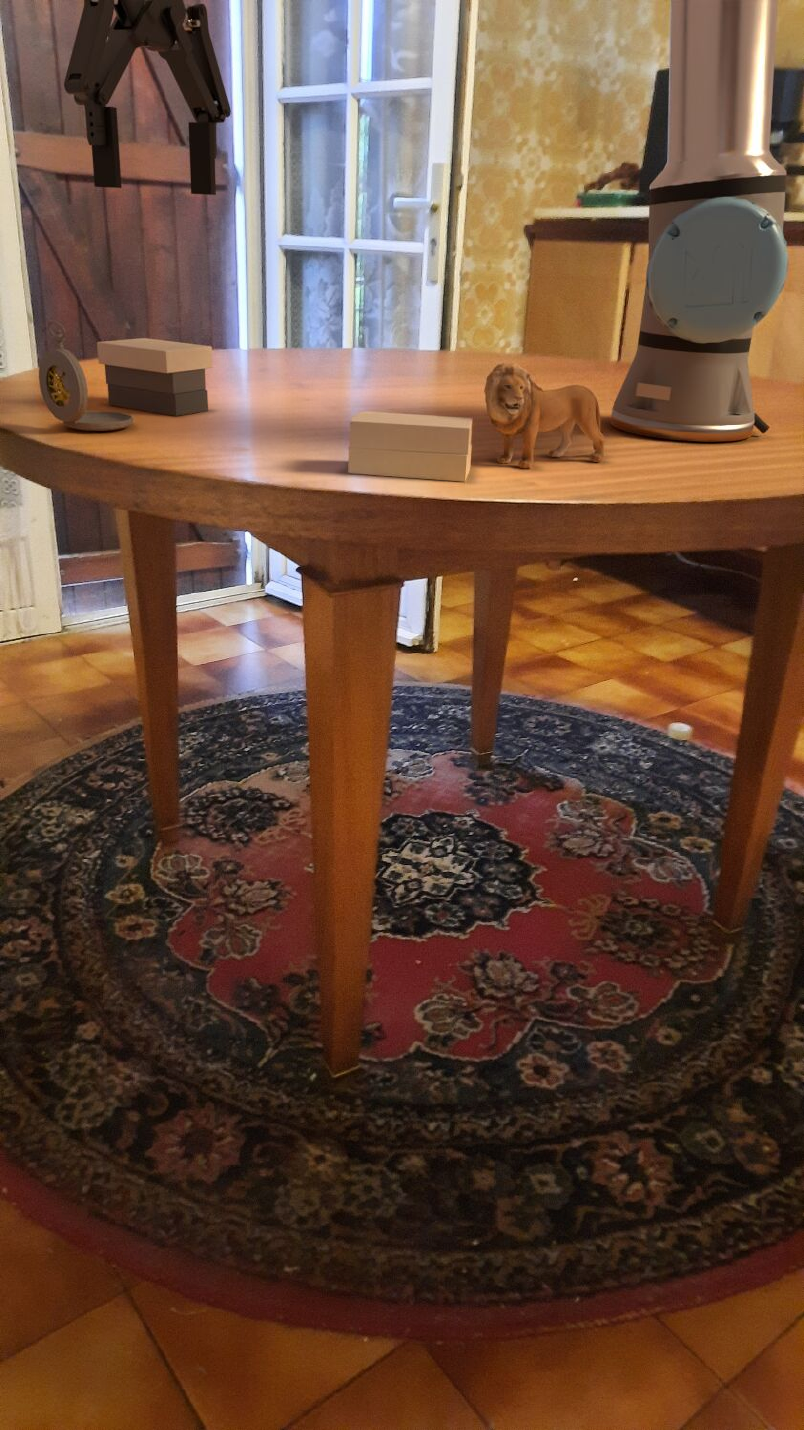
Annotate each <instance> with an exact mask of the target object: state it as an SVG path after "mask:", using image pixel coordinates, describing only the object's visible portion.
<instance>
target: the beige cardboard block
mask: <svg viewBox="0 0 804 1430" xmlns="http://www.w3.org/2000/svg"><path fill="white" fill-rule="evenodd" d="M473 423H474V419H473V417H463V416H462V417H461V416H449V415H448V416H447V415H446V416H444V415H431V414H430V415H429V414H412V413H396V412H381V411H380V412H379V411H364V410H363V411H362V410H359V411H357V412H356V414H355V415H354V416H353V417H352V418H351V419H350V420H349V446H348V466H347V467H348V470H347V473H348V474H354V475H369V476H380V477H381V476H382V477H393V478H395V477H396V478H410V479H423V480H436V481H452V482H461V483H462V482H464V483H465V482H466V481H467V478H468V476H469V474H470V472H471V464H472V450H473V444H472V436H473Z"/></svg>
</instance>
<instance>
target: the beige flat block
mask: <svg viewBox="0 0 804 1430" xmlns="http://www.w3.org/2000/svg"><path fill="white" fill-rule="evenodd" d="M96 347H97V360H98V364H100V365H104V366H105V365H112V366H119V367H126V368H133V369H140V370H147V371H154V372H160V373H175V372H182V371H190V370H198V369H205V370H207V369H212V368H213V347H212V346H211V345H203V344H195V343H186V342H179V341H171V340H163V339H156V338H149V337H148V338H147V337H141V338H139V337H138V338H129V339H117V340H106V341H97V342H96Z"/></svg>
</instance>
